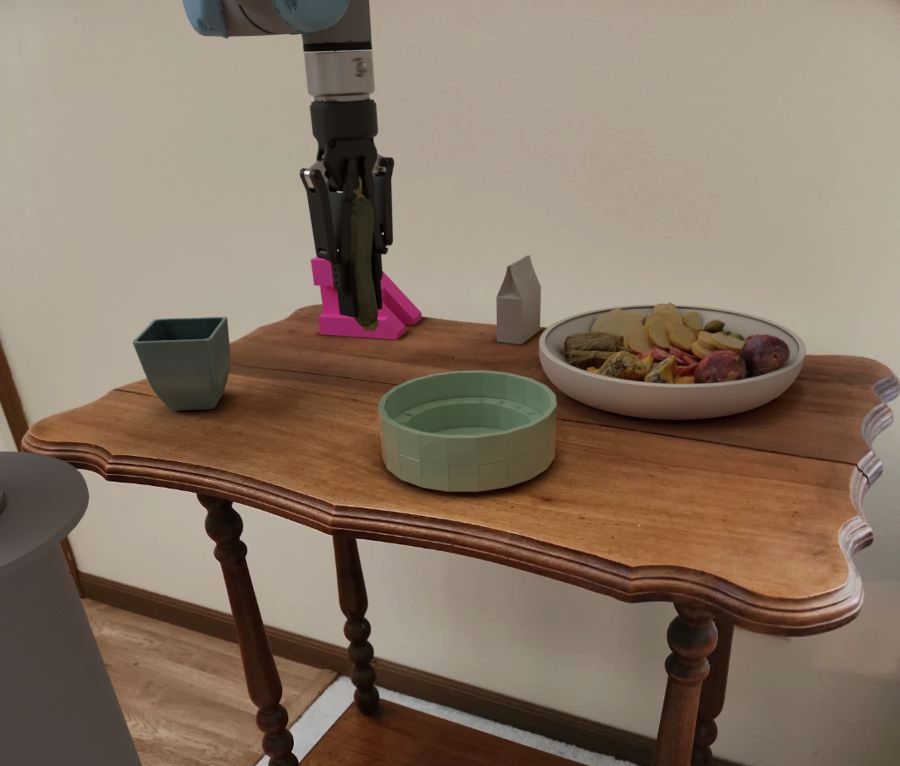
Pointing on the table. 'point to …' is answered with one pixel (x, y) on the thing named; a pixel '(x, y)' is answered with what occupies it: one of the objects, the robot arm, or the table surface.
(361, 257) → the vegetable
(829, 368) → the table surface
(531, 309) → the milk carton
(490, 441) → the mixing bowl
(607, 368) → the bowl
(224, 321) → the flower pot
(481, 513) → the table surface
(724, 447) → the table surface
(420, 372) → the table surface
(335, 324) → the bracket
